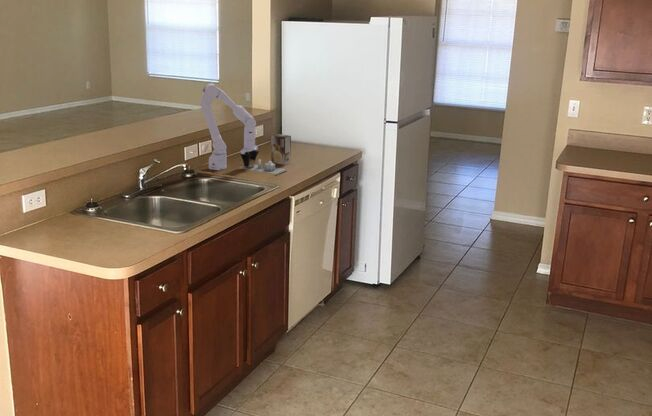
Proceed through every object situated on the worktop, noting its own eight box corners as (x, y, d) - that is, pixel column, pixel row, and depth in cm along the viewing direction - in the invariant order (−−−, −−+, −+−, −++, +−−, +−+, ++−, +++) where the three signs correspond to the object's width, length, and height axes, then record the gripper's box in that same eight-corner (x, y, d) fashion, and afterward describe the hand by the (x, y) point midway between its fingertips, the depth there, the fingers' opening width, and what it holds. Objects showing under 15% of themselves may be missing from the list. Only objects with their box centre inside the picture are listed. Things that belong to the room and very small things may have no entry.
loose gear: (251, 167, 349) (251, 162, 348) (242, 166, 351) (242, 160, 350) (256, 165, 354) (256, 160, 353) (247, 164, 356) (247, 158, 355)
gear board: (275, 176, 341) (276, 165, 339) (238, 170, 349) (238, 159, 347) (286, 171, 351) (287, 161, 349) (250, 166, 360) (250, 155, 358)
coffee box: (291, 164, 366) (291, 135, 362) (285, 167, 361) (285, 137, 356) (276, 162, 370) (277, 133, 366) (270, 164, 365) (270, 135, 360)
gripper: (249, 142, 341) (248, 168, 345) (263, 138, 353) (262, 163, 357) (237, 141, 343) (236, 167, 347) (251, 136, 356) (251, 161, 360)
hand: (249, 165), depth 353 cm, fingers closed on loose gear, 5 cm apart
